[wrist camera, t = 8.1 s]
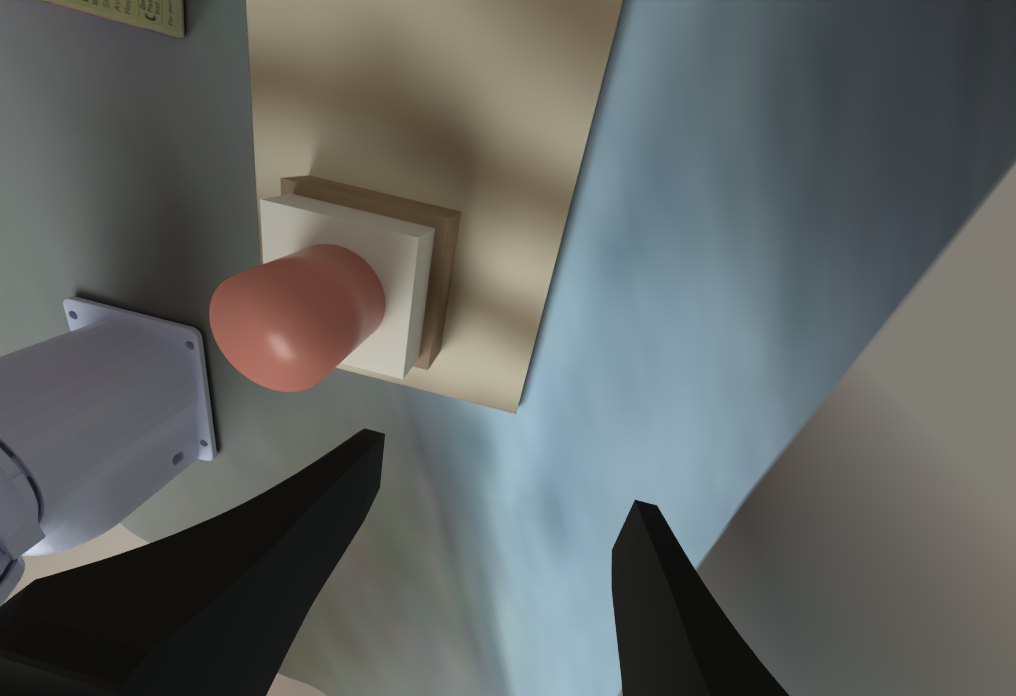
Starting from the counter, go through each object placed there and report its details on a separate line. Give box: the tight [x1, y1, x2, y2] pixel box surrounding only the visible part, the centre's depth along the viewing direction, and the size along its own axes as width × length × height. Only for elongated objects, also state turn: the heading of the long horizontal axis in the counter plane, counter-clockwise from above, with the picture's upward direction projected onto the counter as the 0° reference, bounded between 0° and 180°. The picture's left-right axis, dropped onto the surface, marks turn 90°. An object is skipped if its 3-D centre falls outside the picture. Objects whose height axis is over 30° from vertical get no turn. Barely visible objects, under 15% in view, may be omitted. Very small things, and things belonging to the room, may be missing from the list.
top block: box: [260, 194, 435, 379], centre depth 18 cm, size 6×6×2 cm
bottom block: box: [280, 175, 461, 370], centre depth 19 cm, size 7×7×2 cm
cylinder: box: [209, 244, 385, 392], centre depth 15 cm, size 4×4×4 cm
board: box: [246, 0, 623, 414], centre depth 18 cm, size 24×14×1 cm, turn 168°
